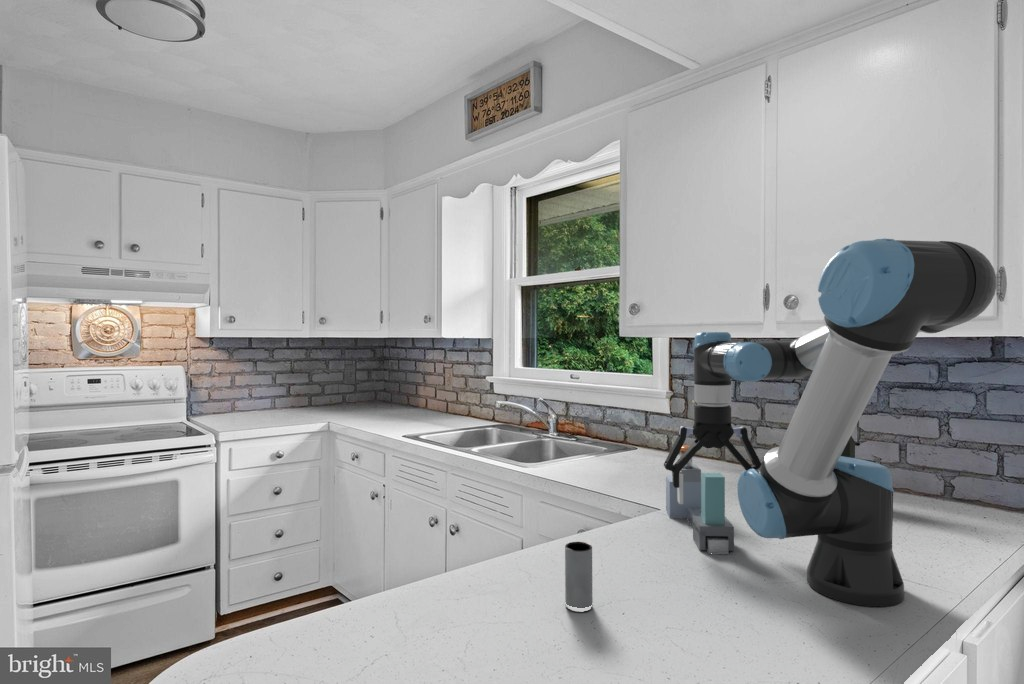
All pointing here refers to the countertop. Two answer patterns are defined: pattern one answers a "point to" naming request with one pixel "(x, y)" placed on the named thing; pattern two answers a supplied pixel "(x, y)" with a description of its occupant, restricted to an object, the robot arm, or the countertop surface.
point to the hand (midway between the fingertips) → (712, 503)
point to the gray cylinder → (578, 574)
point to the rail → (711, 542)
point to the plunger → (689, 464)
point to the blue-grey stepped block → (684, 493)
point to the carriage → (712, 512)
